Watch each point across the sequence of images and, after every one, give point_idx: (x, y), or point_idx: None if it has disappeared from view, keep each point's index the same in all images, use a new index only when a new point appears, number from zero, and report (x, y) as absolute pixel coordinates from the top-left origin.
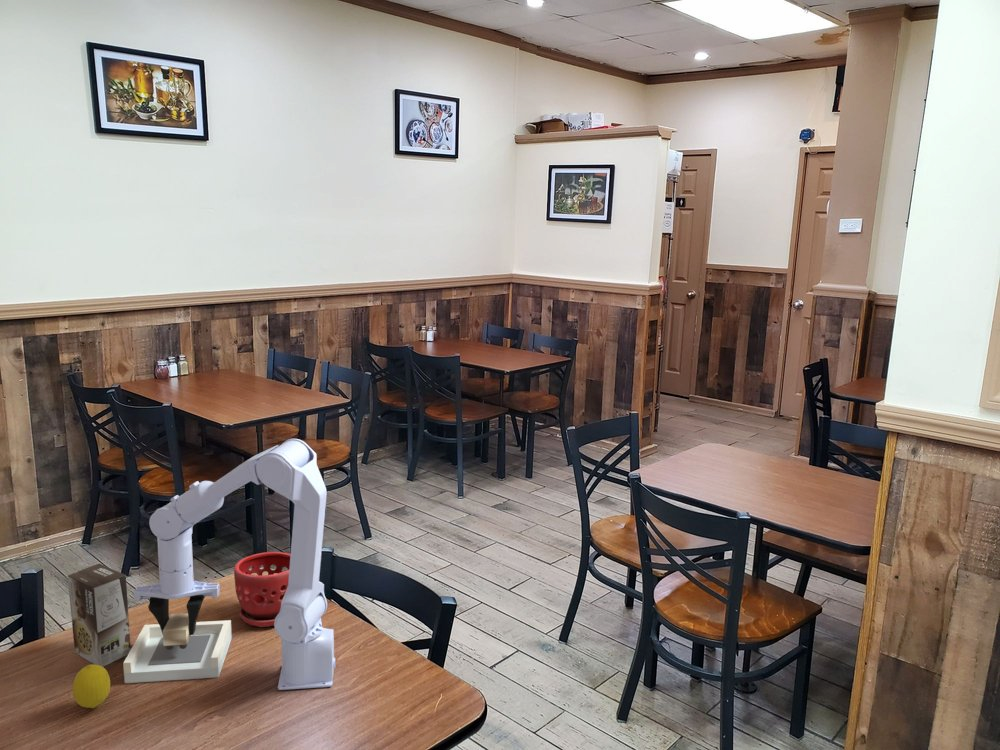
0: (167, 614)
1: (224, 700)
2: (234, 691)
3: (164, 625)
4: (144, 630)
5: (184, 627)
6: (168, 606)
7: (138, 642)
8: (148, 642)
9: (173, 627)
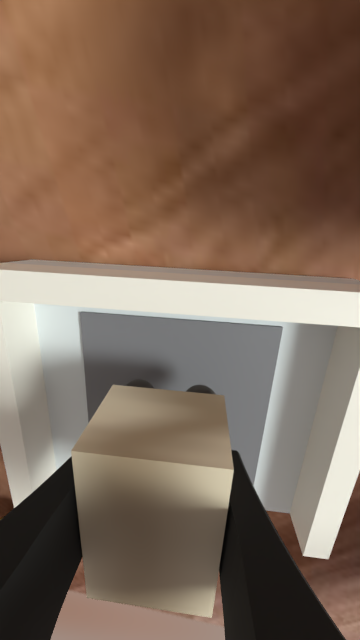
0: (49, 547)
1: (312, 559)
2: (338, 539)
3: (77, 565)
4: None
5: (199, 602)
6: (7, 583)
7: (7, 411)
8: (42, 331)
9: (135, 586)
